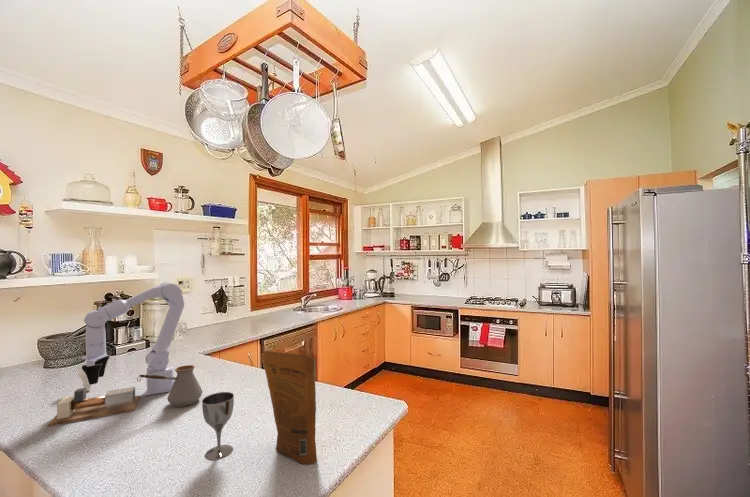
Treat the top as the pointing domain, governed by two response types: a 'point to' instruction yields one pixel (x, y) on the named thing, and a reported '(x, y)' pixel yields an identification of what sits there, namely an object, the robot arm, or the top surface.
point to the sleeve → (120, 397)
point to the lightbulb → (84, 379)
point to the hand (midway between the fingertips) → (96, 380)
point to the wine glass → (218, 420)
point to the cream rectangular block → (65, 407)
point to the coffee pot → (182, 386)
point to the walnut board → (93, 413)
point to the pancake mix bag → (293, 403)
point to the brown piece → (85, 400)
